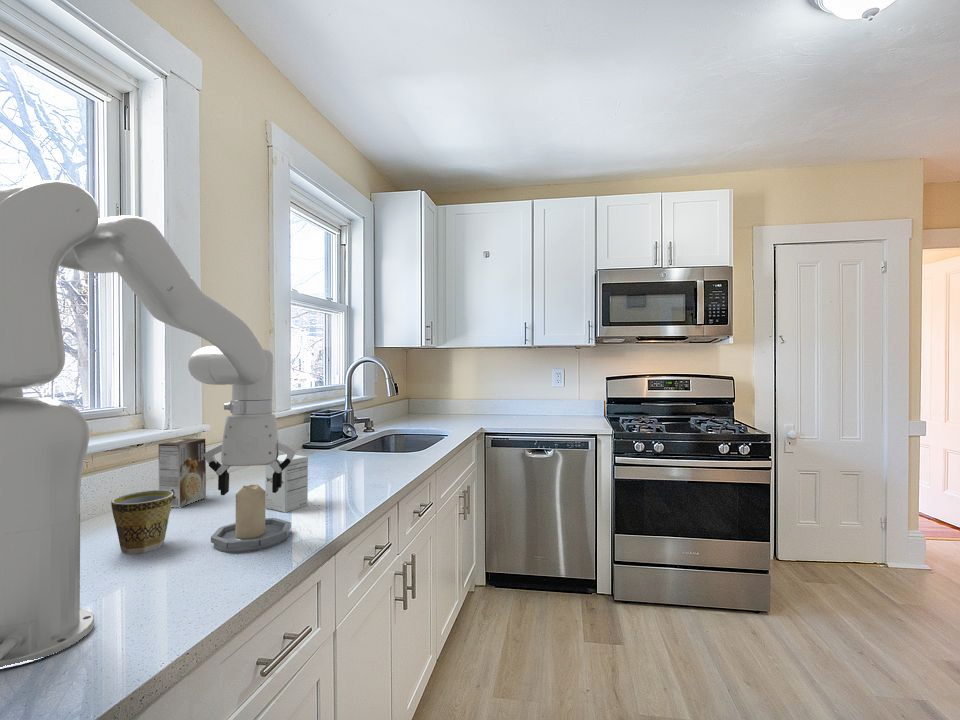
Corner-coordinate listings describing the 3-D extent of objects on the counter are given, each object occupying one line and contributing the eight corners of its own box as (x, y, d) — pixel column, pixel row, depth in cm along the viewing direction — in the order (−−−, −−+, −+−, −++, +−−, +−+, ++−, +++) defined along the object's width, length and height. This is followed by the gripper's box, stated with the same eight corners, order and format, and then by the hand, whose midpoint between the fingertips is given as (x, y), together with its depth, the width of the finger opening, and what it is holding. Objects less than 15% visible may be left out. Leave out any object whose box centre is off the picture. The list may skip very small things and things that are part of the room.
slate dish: (282, 549, 93) (282, 538, 93) (203, 555, 90) (203, 544, 90) (294, 525, 107) (294, 516, 107) (225, 530, 104) (225, 521, 104)
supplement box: (264, 509, 119) (264, 458, 119) (288, 501, 126) (288, 453, 126) (284, 513, 116) (284, 460, 116) (308, 505, 122) (308, 455, 122)
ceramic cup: (183, 544, 96) (183, 494, 96) (126, 562, 87) (126, 507, 87) (150, 532, 102) (150, 485, 103) (94, 548, 94) (94, 497, 94)
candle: (253, 540, 95) (253, 490, 95) (229, 538, 96) (229, 488, 96) (271, 530, 100) (271, 483, 100) (247, 529, 102) (248, 481, 102)
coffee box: (185, 497, 130) (185, 437, 130) (206, 498, 129) (206, 438, 129) (157, 507, 120) (157, 443, 121) (180, 508, 119) (180, 444, 120)
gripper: (199, 410, 93) (197, 499, 92) (293, 409, 97) (292, 495, 96) (211, 407, 100) (210, 490, 100) (299, 407, 104) (298, 486, 104)
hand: (250, 492), depth 98 cm, fingers open, 9 cm apart
